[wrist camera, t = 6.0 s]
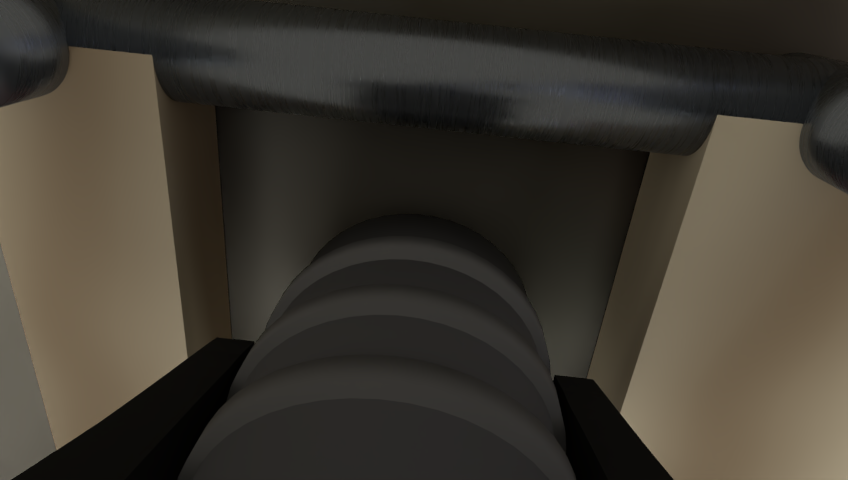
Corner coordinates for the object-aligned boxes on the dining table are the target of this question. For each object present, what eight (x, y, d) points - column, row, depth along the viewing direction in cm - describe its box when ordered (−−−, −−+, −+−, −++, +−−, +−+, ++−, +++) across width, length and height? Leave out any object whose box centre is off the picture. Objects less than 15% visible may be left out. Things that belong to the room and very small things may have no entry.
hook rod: (850, 58, 9) (1017, 90, 6) (811, 151, 10) (946, 216, 7) (42, -26, 9) (-131, -30, 6) (61, 71, 10) (-89, 105, 7)
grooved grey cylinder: (568, 234, 10) (703, 558, 4) (503, 433, 12) (538, 823, 6) (300, 182, 10) (84, 445, 4) (282, 392, 12) (122, 751, 6)
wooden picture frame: (957, 120, 9) (1077, 152, 8) (703, 611, 15) (735, 694, 14) (41, 23, 10) (-57, 33, 8) (143, 546, 16) (102, 620, 14)
